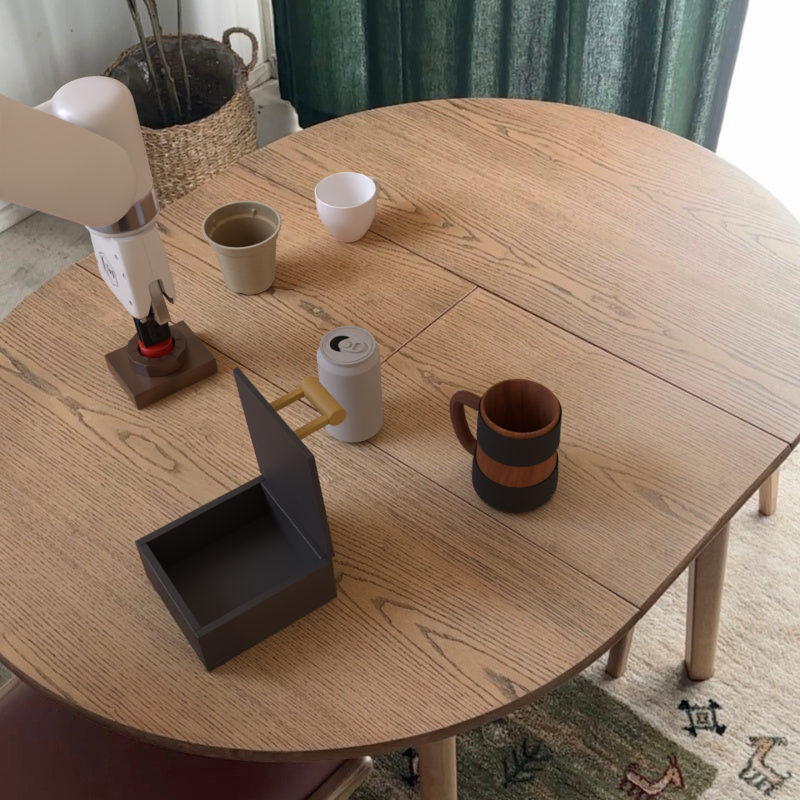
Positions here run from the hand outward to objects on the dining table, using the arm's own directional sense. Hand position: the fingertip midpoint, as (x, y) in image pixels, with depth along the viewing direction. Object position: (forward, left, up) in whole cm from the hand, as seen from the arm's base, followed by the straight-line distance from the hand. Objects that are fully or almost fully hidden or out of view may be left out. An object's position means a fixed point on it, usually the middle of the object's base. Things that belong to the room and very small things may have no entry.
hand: (155, 338), depth 117 cm
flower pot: (+16, +8, -5) cm, 18 cm away
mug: (+21, -35, -5) cm, 41 cm away
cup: (+32, +9, -5) cm, 33 cm away
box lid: (-1, -31, +9) cm, 32 cm away
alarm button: (0, 0, -2) cm, 2 cm away
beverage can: (+13, -20, -5) cm, 24 cm away
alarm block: (0, 0, -5) cm, 5 cm away
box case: (-7, -31, -5) cm, 32 cm away
